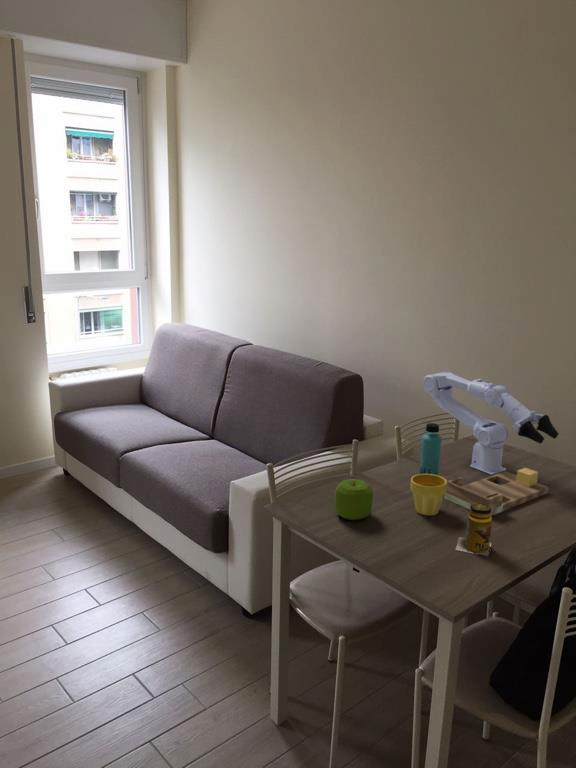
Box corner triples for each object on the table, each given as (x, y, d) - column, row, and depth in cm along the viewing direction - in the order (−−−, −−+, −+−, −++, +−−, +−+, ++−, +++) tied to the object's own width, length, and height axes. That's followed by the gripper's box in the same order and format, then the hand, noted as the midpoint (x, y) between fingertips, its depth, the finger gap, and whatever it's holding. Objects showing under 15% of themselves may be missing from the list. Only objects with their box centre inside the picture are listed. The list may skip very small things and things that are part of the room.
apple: (375, 523, 183) (377, 488, 180) (337, 524, 182) (338, 488, 180) (368, 506, 194) (369, 472, 191) (332, 507, 193) (333, 473, 190)
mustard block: (524, 479, 210) (525, 467, 209) (536, 483, 207) (538, 472, 206) (515, 482, 208) (517, 470, 207) (528, 487, 204) (529, 475, 203)
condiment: (489, 557, 166) (493, 514, 163) (455, 550, 169) (458, 508, 166) (491, 544, 173) (495, 502, 170) (458, 538, 176) (462, 497, 173)
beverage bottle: (438, 479, 214) (442, 421, 209) (439, 487, 208) (443, 428, 203) (418, 477, 215) (422, 420, 210) (418, 485, 209) (422, 426, 204)
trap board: (505, 476, 217) (506, 461, 216) (547, 493, 205) (549, 476, 203) (444, 498, 200) (445, 481, 199) (486, 517, 188) (488, 500, 186)
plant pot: (412, 500, 198) (414, 470, 196) (447, 506, 195) (449, 476, 192) (405, 515, 189) (407, 483, 186) (442, 521, 185) (444, 489, 183)
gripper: (508, 406, 205) (541, 433, 196) (535, 398, 213) (568, 424, 205) (499, 423, 209) (531, 450, 200) (526, 414, 217) (558, 441, 209)
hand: (549, 438), depth 203 cm, fingers open, 7 cm apart
